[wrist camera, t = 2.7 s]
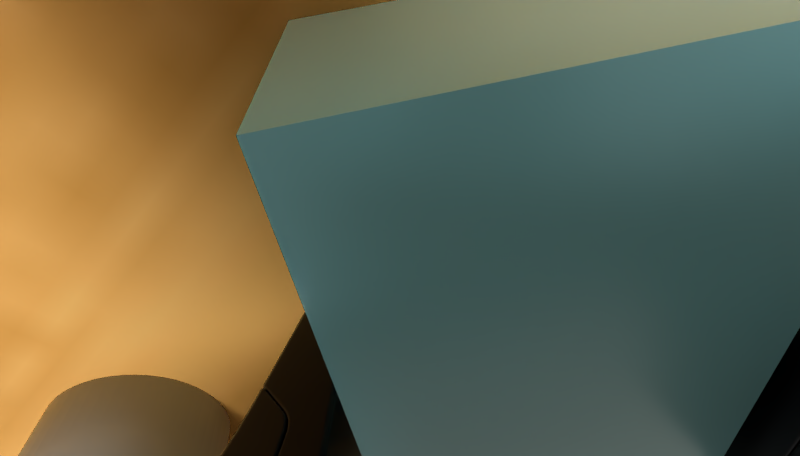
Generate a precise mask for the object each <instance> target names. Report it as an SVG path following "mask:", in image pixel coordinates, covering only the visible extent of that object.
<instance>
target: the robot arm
mask: <svg viewBox="0 0 800 456" xmlns="http://www.w3.org/2000/svg"><path fill="white" fill-rule="evenodd" d="M263 387H264V388H263V389H261V390H260V392H259V394H258V396H257V397H256V399H255V401H254V403H253V404H252V406H251V408H250V409H249V411H248V413H247V414H246V416H245V418H244V419H243V421H242V423H241V424H240V426H239V428H238V429H237V431H236V433H235V434H234V436H233V437H232V439H231V440H230V442H229V443H228V445H227V446H226V448H225V449H224V451H223V452H222V454H221V455H220V456H362V455H361V453H360V450H359V448H358V445H357V443H356V440H355V437H354V435H353V432H352V430H351V427H350V425H349V422H348V420H347V417H346V415H345V412H344V409H343V407H342V404H341V402H340V399H339V397H338V394H337V392H336V389H335V387H334V384H333V381H332V379H331V376H330V374H329V371H328V369H327V366H326V364H325V361H324V359H323V356H322V353H321V351H320V348H319V346H318V343H317V341H316V338H315V336H314V333H313V331H312V328H311V325H310V323H309V320H308V318H307V315H306V313H304V315H303V316H302V318H301V320H300V322H299V323H298V325H297V327H296V329H295V330H294V332H293V334H292V336H291V338H290V339H289V341H288V343H287V345H286V346H285V348H284V350H283V352H282V353H281V355H280V357H279V359H278V360H277V362H276V364H275V366H274V368H273V369H272V371H271V373H270V375H269V376H268V378H267V380H266V382H265V383H264V386H263ZM724 456H800V328H799V330H798V331H797V333H796V335H795V336H794V338H793V340H792V342H791V343H790V345H789V347H788V348H787V350H786V352H785V353H784V355H783V357H782V359H781V360H780V362H779V364H778V365H777V367H776V369H775V370H774V372H773V374H772V375H771V377H770V379H769V381H768V382H767V384H766V386H765V387H764V389H763V391H762V392H761V394H760V396H759V398H758V399H757V401H756V403H755V404H754V406H753V408H752V409H751V411H750V413H749V415H748V416H747V418H746V420H745V421H744V423H743V425H742V426H741V428H740V430H739V432H738V433H737V435H736V437H735V438H734V440H733V442H732V443H731V445H730V447H729V448H728V450H727V452H726V454H725V455H724Z"/></svg>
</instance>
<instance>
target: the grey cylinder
mask: <svg viewBox="0 0 800 456" xmlns="http://www.w3.org/2000/svg"><path fill="white" fill-rule="evenodd" d="M229 433H230V420H229V416H228V414H227V412H226V410H225V409H224V408H223V406H222V405H221V404H220V403H219V402H218V401H217V400H216V399H215V398H214V397H212V396H211V395H209V394H208V393H206V392H204V391H203V390H201V389H199V388H197V387H194V386H192V385H189V384H187V383H184V382H180V381H177V380H173V379H168V378H163V377H156V376H148V375H120V376H110V377H104V378H99V379H94V380H91V381H87V382H84V383H81V384H79V385H76V386H74V387H72V388H70V389H68V390H66V391H64V392H63V393H61V394H60V395H59V396H57V397H56V398H55V399H54V400H53V401H52V402H51V403H50V404H49V406H48V407H47V409H46V410H45V412H44V414H43V415H42V417H41V419H40V420H39V422H38V424H37V425H36V427H35V428H34V430H33V432H32V433H31V435H30V437H29V438H28V440H27V442H26V443H25V445H24V447H23V448H22V450H21V452H20V453H19V455H18V456H220V455H221V454H222V452H223V451H224V449H225V448H226V446H227V444H228V438H229Z"/></svg>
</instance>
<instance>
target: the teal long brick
mask: <svg viewBox="0 0 800 456" xmlns="http://www.w3.org/2000/svg"><path fill="white" fill-rule="evenodd" d="M236 137H237V140H238V142H239V145H240V147H241V150H242V152H243V155H244V157H245V160H246V163H247V165H248V168H249V170H250V173H251V175H252V178H253V180H254V183H255V185H256V188H257V191H258V193H259V196H260V198H261V201H262V203H263V206H264V208H265V211H266V213H267V216H268V219H269V221H270V224H271V226H272V229H273V231H274V234H275V236H276V239H277V241H278V244H279V247H280V249H281V252H282V254H283V257H284V259H285V262H286V264H287V267H288V269H289V272H290V275H291V277H292V280H293V282H294V285H295V287H296V290H297V292H298V295H299V297H300V300H301V303H302V305H303V308H304V310H305V313H306V315H307V318H308V320H309V323H310V325H311V328H312V331H313V333H314V336H315V338H316V341H317V343H318V346H319V348H320V351H321V353H322V356H323V359H324V361H325V364H326V366H327V369H328V371H329V374H330V376H331V379H332V381H333V384H334V387H335V389H336V392H337V394H338V397H339V399H340V402H341V404H342V407H343V409H344V412H345V415H346V417H347V420H348V422H349V425H350V427H351V430H352V432H353V435H354V437H355V440H356V443H357V445H358V448H359V450H360V453H361V455H362V456H724V455H725V454H726V452H727V450H728V448H729V447H730V445H731V443H732V442H733V440H734V438H735V437H736V435H737V433H738V432H739V430H740V428H741V426H742V425H743V423H744V421H745V420H746V418H747V416H748V415H749V413H750V411H751V409H752V408H753V406H754V404H755V403H756V401H757V399H758V398H759V396H760V394H761V392H762V391H763V389H764V387H765V386H766V384H767V382H768V381H769V379H770V377H771V375H772V374H773V372H774V370H775V369H776V367H777V365H778V364H779V362H780V360H781V359H782V357H783V355H784V353H785V352H786V350H787V348H788V347H789V345H790V343H791V342H792V340H793V338H794V336H795V335H796V333H797V331H798V330H799V328H800V0H395V1H389V2H384V3H379V4H373V5H368V6H363V7H357V8H352V9H347V10H341V11H336V12H331V13H325V14H320V15H314V16H309V17H304V18H298V19H293V20H289V21H288V23H287V25H286V27H285V30H284V32H283V34H282V36H281V38H280V40H279V43H278V45H277V47H276V49H275V51H274V54H273V56H272V58H271V60H270V62H269V64H268V67H267V69H266V71H265V73H264V75H263V77H262V80H261V82H260V84H259V86H258V88H257V90H256V93H255V95H254V97H253V99H252V101H251V104H250V106H249V108H248V110H247V112H246V114H245V117H244V119H243V121H242V123H241V125H240V127H239V130H238V132H237V134H236Z"/></svg>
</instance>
